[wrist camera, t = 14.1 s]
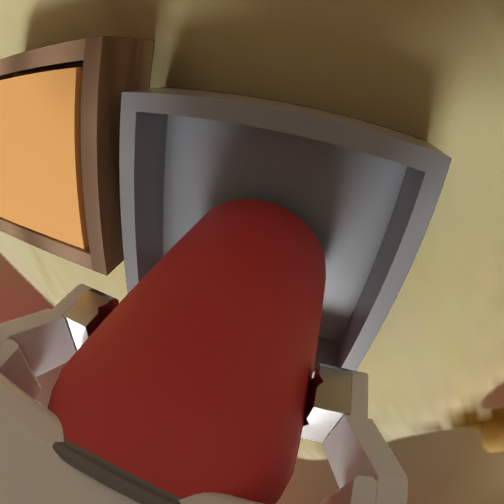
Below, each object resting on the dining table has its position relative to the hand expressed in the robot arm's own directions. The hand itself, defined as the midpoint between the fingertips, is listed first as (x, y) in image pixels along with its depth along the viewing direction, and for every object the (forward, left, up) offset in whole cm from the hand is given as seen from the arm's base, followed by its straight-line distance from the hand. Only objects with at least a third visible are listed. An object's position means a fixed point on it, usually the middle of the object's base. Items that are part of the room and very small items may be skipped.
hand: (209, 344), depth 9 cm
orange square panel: (+13, -3, -5) cm, 14 cm away
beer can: (0, +1, -7) cm, 7 cm away
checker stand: (+13, -3, -8) cm, 16 cm away
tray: (0, 0, -8) cm, 8 cm away
